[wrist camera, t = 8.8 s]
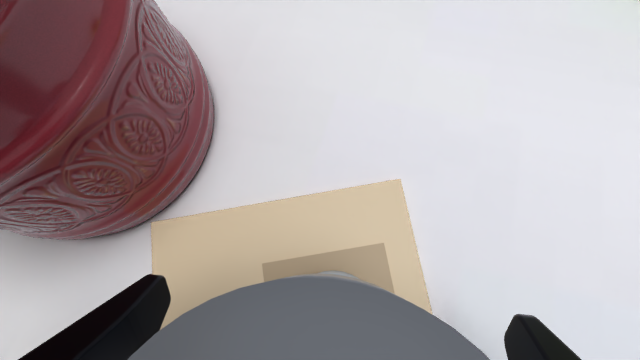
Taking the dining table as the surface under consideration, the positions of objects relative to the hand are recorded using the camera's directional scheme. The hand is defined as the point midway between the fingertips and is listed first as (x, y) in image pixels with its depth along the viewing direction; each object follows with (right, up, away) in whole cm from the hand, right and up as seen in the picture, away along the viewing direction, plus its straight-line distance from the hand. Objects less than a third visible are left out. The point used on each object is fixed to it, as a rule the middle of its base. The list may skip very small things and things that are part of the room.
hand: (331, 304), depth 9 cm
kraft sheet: (-2, -3, +7) cm, 8 cm away
